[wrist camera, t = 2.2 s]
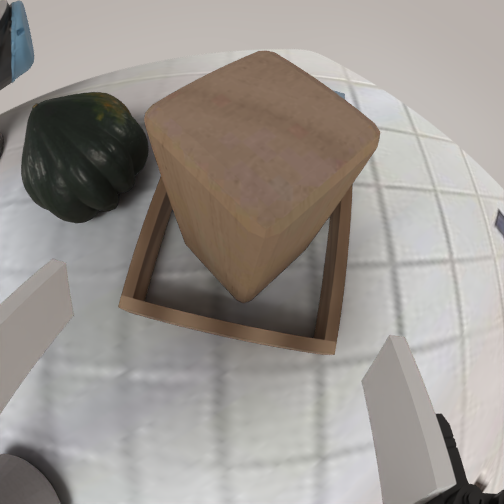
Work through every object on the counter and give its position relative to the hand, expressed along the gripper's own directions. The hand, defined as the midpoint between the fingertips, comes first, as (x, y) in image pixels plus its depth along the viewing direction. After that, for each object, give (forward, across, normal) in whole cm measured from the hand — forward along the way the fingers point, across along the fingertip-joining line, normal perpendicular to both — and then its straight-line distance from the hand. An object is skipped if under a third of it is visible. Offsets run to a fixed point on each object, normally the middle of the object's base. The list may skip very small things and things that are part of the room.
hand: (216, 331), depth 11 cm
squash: (+25, -20, -4) cm, 32 cm away
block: (+22, 0, -6) cm, 23 cm away
